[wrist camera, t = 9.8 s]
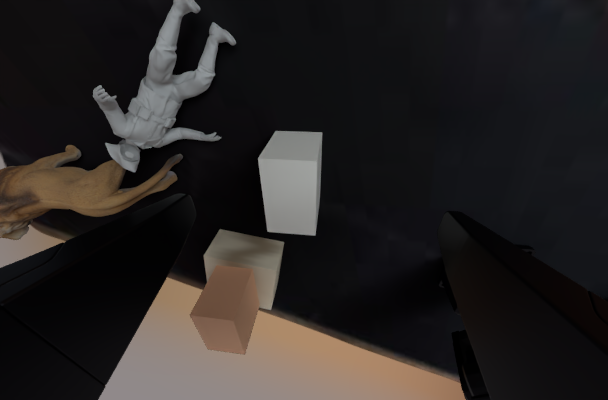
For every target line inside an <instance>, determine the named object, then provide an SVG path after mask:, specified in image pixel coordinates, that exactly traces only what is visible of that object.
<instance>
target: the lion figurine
mask: <svg viewBox="0 0 608 400" xmlns="http://www.w3.org/2000/svg"><path fill="white" fill-rule="evenodd" d="M80 157H81V152H80V150H79V149H77V148H76V147H75V146H73V145H68V146H66V152H63V153H59V154H55V155H52V156H48V157H44V158H41V159H39V160H37V161H36V162H35V163H33V164H31V165H27V166H25V165H24V166H10V167H6V168H4V169H1V170H0V238H8V239H13V240H18V239H20V238H21V237H22V236H23V235H24V234H26V233H27V232H28V230H29V227H28V225H29V224H30V223H31V222H32V219H34V218H37V217H38V216H40V215H42V214H44V213H46V212H48V211H50V210H51V209H52V208H56V209H72V210H74V211H76V212H79V213H81V214H84V215H88V216H96V217H100V216H107V215H111V214H115V213H117V212H120V211H122V210H124V209H126V208H128V207H129V206H131V205H132V204H134V203H135V202H137V201H139V200H140V199H142V198H144V197H146V196H147V195H149V194H152V193H155V192H158V191H163V190H165V189H166V188H168V187H169V186H170V185H171V184H172V183H174V182H175V181H177V176H176V174H175V173H174V172H172V171H169V170H170V169H171V167H172V166H174V165H175V164H176V163H179V162H180V160H182V158H183V156H182V155H181V154H178V155H175V156H173V157H172V158H170V159H168V161H167V162H166V164H165V165H164V166H163V168H162V169H161V170H160V171H159V172H158V173H156V174H155V175H154V176H153V177H151V178H150V179H149V180H147V181H146V182H144V183H143V184H141V185H139V186H137V187H135V188H127V189H119V188H120V185H121V183H122V180H123V177H124V174H125V171H126V169H124V168H123V167H122V166H121V165H120V164H119V163H117V162H116V161H115V160H111V161H108V162H106V163H103V164H101V165H99V166H98V167H97V168H96V169H94V170H90V171H86V170H84V169H82V168H77V167H60V166H61V165H63V164H65V163H67V162H71V161H75V160H78V158H80ZM162 178H163V179H162ZM161 179H162V180H161Z"/></svg>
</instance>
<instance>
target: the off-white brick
mask: <svg viewBox="0 0 608 400" xmlns="http://www.w3.org/2000/svg"><path fill="white" fill-rule="evenodd" d="M321 154H322V132H292V131H275V133H274V134H273V136H272V137H271V139H270V140H269V142H268V144H267V145H266V147H265V148H264V150H263V151H262V153H261V154H260V156H259V157H258V163H259V171H260V179H261V186H262V194H263V201H264V209H265V216H266V224H267V231H268V232H276V233H289V234H302V235H314V236H315V235H316V226H317V218H318V210H319V202H320V183H321Z"/></svg>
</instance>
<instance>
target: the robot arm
mask: <svg viewBox="0 0 608 400" xmlns="http://www.w3.org/2000/svg"><path fill="white" fill-rule="evenodd" d="M195 218H196V210H195V207H194V204H193V201H192V198H191V196H190V195H188V194H175V195H173V196H171V197H168V198H166V199H164V200H161V201H159V202H157V203H154V204H152V205H150V206H147V207H145V208H143V209H140V210H138V211H136V212H133V213H131V214H128V215H126V216H124V217H121V218H119V219H117V220H114V221H112V222H110V223H107V224H105V225H103V226H100V227H98V228H96V229H93V230H91V231H89V232H86V233H84V234H82V235H79V236H77V237H74V238H72V239H70V240H67V241H66V242H65V243H60V244H58V245H56V246H53V247H51V248H49V249H46V250H44V251H41V252H39V253H36V254H34V255H32V256H29V257H27V258H25V259H22V260H19V261H17V262H14V263H12V264H9V265H7V266H4V267H2V268H0V400H98V399H99V397H100V395H101V394H102V392H103V390H104V388H105V385H106V384H107V382H108V381H109V379H110V377H111V375H112V374H113V372H114V370H115V368H116V367H117V365H118V363H119V361H120V360H121V358H122V356H123V354H124V352H125V351H126V349H127V347H128V345H129V344H130V342H131V340H132V338H133V336H134V335H135V333H136V331H137V329H138V328H139V326H140V324H141V322H142V321H143V319H144V317H145V315H146V313H147V311H148V310H149V308H150V306H151V305H152V302H153V301H154V299H155V297H156V296H157V294H158V292H159V290H160V289H161V287H162V285H163V283H164V281H165V280H166V278H167V276H168V274H169V273H170V271H171V269H172V267H173V266H174V264H175V262H176V260H177V258H178V257H179V255H180V253H181V251H182V249H183V247H184V244H185V242H186V240H187V237H188V235H189V233H190V230H191V228H192V226H193V223H194V221H195ZM437 236H438V240H439V245H440V249H441V254H442V258H443V262H444V269H443V271H442V273H441V275H440V278H439V280H438V284H439V286H440V287H442V288H445V290H446V293H447V295H448V297H449V300H450V302H451V305H452V307H453V310H454V312H455V313H456V314H460V315H461V318H462V320H463V323H464V326H465V329H466V330H463V331H460V332H459V331H456V332H452V338H453V346H454V351H455V356H456V362H457V367H458V372H459V377H460V382H461V387H462V390H463V393H464V396H465V399H466V400H608V302H607V301H606V300H604V299H602V298H601V297H599V296H598V295H596V294H594V293H593V292H591V291H587V289H586V288H584V287H583V286H581V285H580V284H578V283H576V282H575V281H573V280H571V279H570V278H568V277H566V276H565V275H563V274H562V273H560V272H558V271H557V270H555V269H553V268H552V267H550V266H549V265H547V264H545V263H544V262H542V261H540V260H539V259H537V258H535V257H534V254H535V253H536V252H535V250H534V249H533V248H532V247H530V246H519V245H514V244H513V243H511V242H509V241H508V240H506V239H504V238H503V237H501V236H500V235H498V234H496V233H495V232H493V231H491V230H490V229H488V228H486V227H485V226H483V225H482V224H480V223H478V222H477V221H475V220H473V219H472V218H470V217H469V216H467V215H465V214H464V213H462V212H458V211H447V212H446V213H445V214H444V216H443V219H442V221H441V223H440V226H439V228H438V232H437Z"/></svg>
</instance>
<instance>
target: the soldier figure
mask: <svg viewBox="0 0 608 400" xmlns="http://www.w3.org/2000/svg"><path fill="white" fill-rule="evenodd" d="M173 2H174V5H173V6H172V8H171V10H170V12H169V14H168V16H167V18H166V20H165V22H164V25H163V26H162V28H161V30H160V32H159V37H158V38H157V41H156V45H155V46H154V48H153V50H152V51H151V53H150V55H149V65H148V69H147V76H145V77H144V78H143V79H142V81H141V84H140V88H139V91H138V96H137V98H133V99H132V101H131V103H130V105H129V108H128V110H129V112H128V113H127V114H125V115H124V113H123V112H122V110H121V109H120V108H119V106H118V104H117V102H116V101H115V98H116V96H114V97H110V96H109V95H108V93H106V92H104V91H105V89H101V88H102V86H101V85H100V86H98V87H97V88H95V89H94V91H93V97H94V99H95V100H96V101H97V102H98V104H99V106H100V108H101V109H102V110H103V111H104V113H105V115H106V117H107V119H108V120H109V123H110V125H111V127H112V129H113V133H114V134H115V135H117V136H120V137H122V138H125V139H126V141H123V140H124V139H123V140H122V141H120V142H119V144H118V145H113V144H109V143H105V145H106V147H107V149H108V152H109V154H110V155H111V157H112V158H113V159H114V160H115V161H116V162H117V163H119V164H120V165H121V166H122V167H123V168H124V169H127V170H130V171H132V172H136V170H137V167H138V164H139V161H140V151H141V150H139V149H138V147H140V148H142V149H147V148H152V147H156V148H160V147H162V146H164V145H167V144H169V143H171V142H173V141H176V140H179V139H194V140H201V141H203V140H204V141H217V140H219V139H221V137H218V136H216V137H214V136H215V134H216V132H215V133H213V134H209V135H205V134H204V133H203V132H199V131H195V130H192V129H188V128H179V127H178V128H172V129H168V128H171V127H172V126H173V124H174V123H175V121H176V117H175V116H176V114H177V112H178V109H179V108H180V106H181V105H182V101H183V100H184V99H187V98H190V97H195V96H197V95H199V94H201V93H202V92H204V91H206V90H207V89H208V88H209V86H210V84H211V81H212V80H213V76H215V71H214V69H215V60H216V55H217V52H218V45H219V43H223V42H229V44H230V45H232V46H233V45H235V44H236V41H235V39H234V38H233V36H232V35H231V34H230V33H229V32H228V31H226V30H223V29H222V28H220V27H219V26H218V25H217V24H215V23H213V22H212V25H211V26H210V30H209V34H210V36H209V38H208V40H207V43H206V46H205V49H204V52H203V55H202V56H201V59H200V61H199V64H198V65H199V67H198V69H196V70H195V71H193V72H192V71H188V72H185V73H183V74H181V75H172V71H173V69H174V66H175V63H176V59H177V55H176V53H175V50H176V49H177V47H176V44H177V40H178V35H179V30H180V23H181V20H182V16H184V15H185V14H187V13H189V12H194V13H198V12H199V11H200V10H201V9H200V7H199V6H198V4H197V3H196V2H195V1H194V0H174V1H173ZM217 26H218V27H217ZM99 89H101V90H99ZM213 137H214V138H213ZM217 137H218V138H217ZM137 146H138V147H137ZM150 146H151V147H150Z"/></svg>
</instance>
